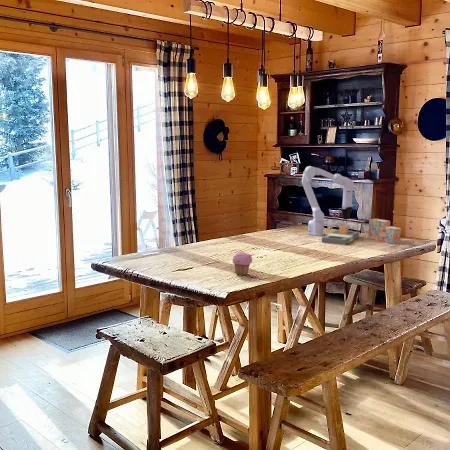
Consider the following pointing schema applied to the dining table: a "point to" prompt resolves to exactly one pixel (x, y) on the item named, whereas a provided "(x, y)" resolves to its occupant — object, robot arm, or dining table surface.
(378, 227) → the stack of blocks
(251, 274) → the dining table surface
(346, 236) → the trap deck
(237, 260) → the cupcake
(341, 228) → the block
